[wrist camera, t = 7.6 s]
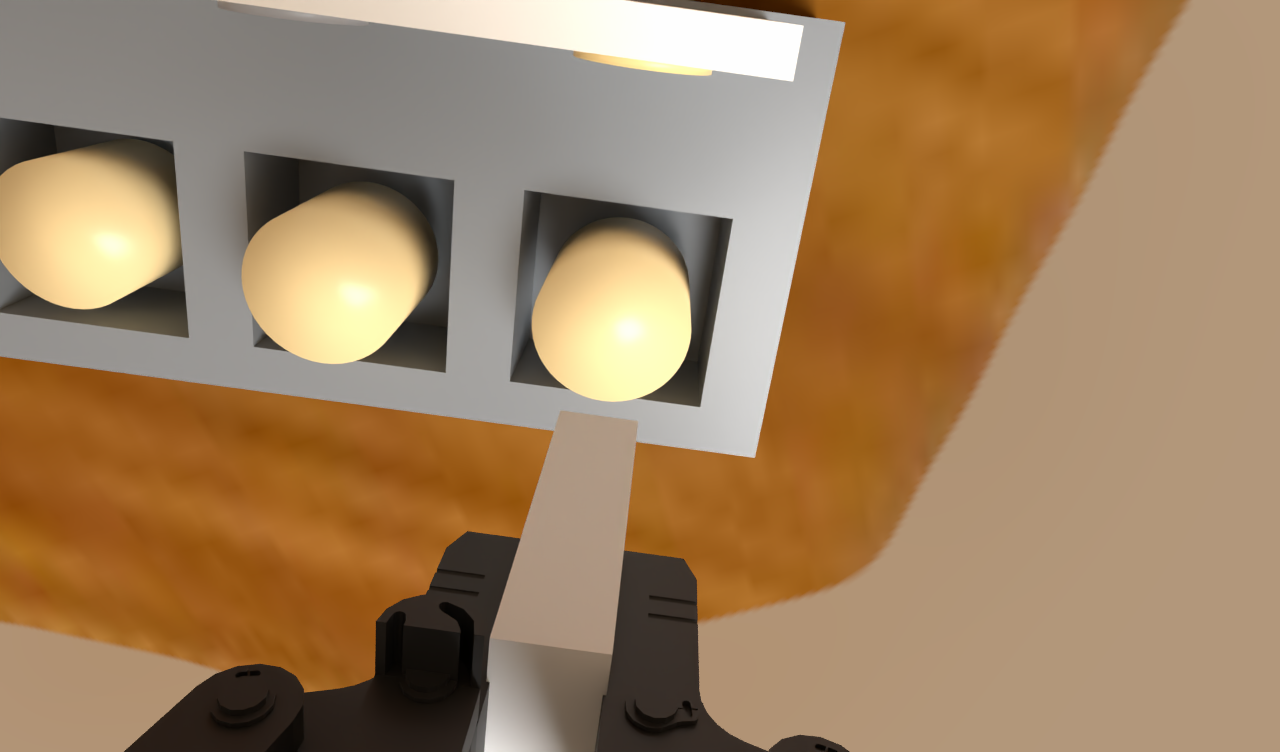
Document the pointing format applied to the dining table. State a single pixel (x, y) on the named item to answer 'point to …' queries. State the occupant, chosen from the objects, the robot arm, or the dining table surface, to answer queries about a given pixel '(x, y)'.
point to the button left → (91, 222)
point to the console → (438, 181)
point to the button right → (614, 311)
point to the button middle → (340, 271)
